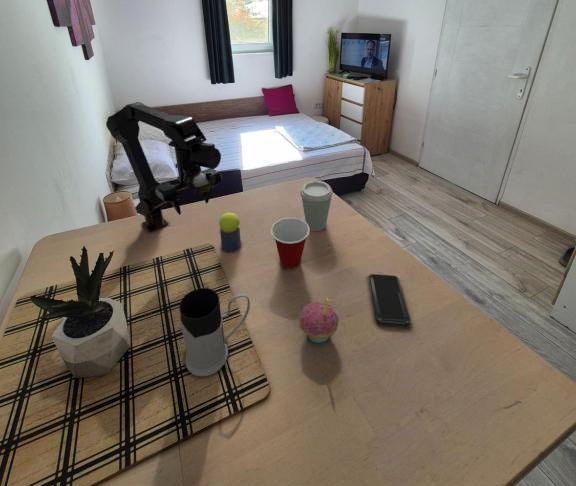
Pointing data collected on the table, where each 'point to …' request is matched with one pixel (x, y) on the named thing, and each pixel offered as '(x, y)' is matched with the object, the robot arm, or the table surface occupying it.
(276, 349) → the table surface
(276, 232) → the plastic cup
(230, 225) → the ball
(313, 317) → the cupcake
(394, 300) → the phone
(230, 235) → the tumbler
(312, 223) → the disposable coffee cup
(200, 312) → the grey mug
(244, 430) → the table surface
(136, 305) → the table surface
